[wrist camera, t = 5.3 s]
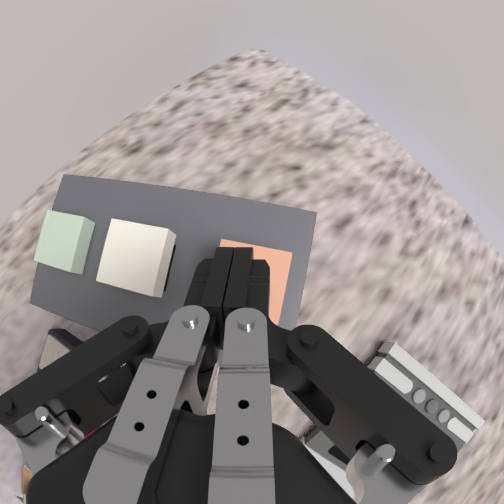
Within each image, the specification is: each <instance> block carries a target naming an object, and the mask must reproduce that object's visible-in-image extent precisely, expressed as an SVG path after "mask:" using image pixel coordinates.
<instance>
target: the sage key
mask: <svg viewBox="0 0 504 504" xmlns="http://www.w3.org/2000/svg"><path fill="white" fill-rule="evenodd" d="M94 226H95V222H93V221H91V220H89V219H88V218H86V217H82V216H77V215H72V214H67V213H61V212H56V211H51V210H47V212H46V215H45V219H44V222H43V226H42V229H41V233H40V237H39V241H38V245H37V249H36V253H35V257H34V261H37V262H40V263H43V264H46V265H49V266H52V267H56V268H59V269H62V270H65V271H68V272H72V273H76V274H81V275H82V274H83V269H84V265H85V261H86V256H87V252H88V248H89V245H90V241H91V237H92V233H93V230H94Z"/></svg>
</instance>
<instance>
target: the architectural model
mask: <svg viewBox="0 0 504 504" xmlns="http://www.w3.org/2000/svg"><path fill="white" fill-rule="evenodd" d="M32 477H33V474H32V472H31V470H30V469H29V468H27V467H26V466H25V465H24V466H23V472H22V491H21V493H22V494H23V495H24V496H23V498H21V497H18V496H16V495H15V497H16V498H18V499H19V500H20V501H21V502H22V503H23V504H26V490H27V486H28V484H29V481H30V480H31V478H32Z"/></svg>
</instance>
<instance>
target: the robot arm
mask: <svg viewBox="0 0 504 504" xmlns="http://www.w3.org/2000/svg"><path fill="white" fill-rule="evenodd" d="M269 303H270V266H269V265H268V263H267V261H266V260H265V259H254V250H253V247H217V248H216V251H215V254H214V258H204V259H203V260H202V261H201V262H200V263H199V264H198V265H197V267H196V270H195V273H194V276H193V278H192V283H191V284H190V287H189V290H188V293H187V296H186V299H185V302H184V305H183V307H182V308H179V309H178V310H176V311H175V312H174V313H173V315H172V316H171V318H170V320H169V321H166V322H162V323H156V324H151V325H148V322H147V321H146V319H144V318H143V317H141V316H137V315H131V316H127V317H124V318H122V319H120V320H119V321H117V322H115V323H114V324H112V325H111V326H109V327H107V328H106V329H104V330H103V331H101V332H99V333H98V334H96V335H95V336H93V337H92V338H90V339H88V340H87V341H85V342H84V343H82V344H80V345H79V346H77V347H76V348H74V349H73V350H71V351H69V352H68V353H66V354H65V355H63V356H62V357H60V358H58V359H57V360H55V361H54V362H52V363H51V364H49V365H47V366H46V367H44V368H43V369H41V370H40V371H38V372H37V373H35V374H33V375H32V376H30V377H29V378H27V379H26V380H24V381H23V382H21V383H20V384H18V385H16V386H15V387H13V388H12V389H10V390H9V391H7V392H6V393H4V394H3V395H1V396H0V424H2V425H3V426H4V427H5V428H6V429H7V430H9V431H10V433H11V434H12V435H13V436H14V437H15V438H16V439H17V442H18V444H19V446H20V449H21V451H22V453H23V455H24V458H25V460H26V462H27V464H28V466H29V468H30V470H31V472H32V474H33V477H32V478H31V480H30V481H29V484H28V486H27V490H26V504H408V503H409V502H410V501H411V500H412V499H413V498H414V497H415V495H416V494H417V493H418V492H419V491H420V490H421V489H422V488H423V487H425V486H427V485H428V484H430V483H432V482H433V481H435V480H436V479H438V478H439V477H441V476H443V475H444V474H446V473H447V472H449V471H450V470H451V469H452V467H453V466H454V464H455V462H456V460H457V448H456V445H455V443H454V441H453V440H452V439H451V438H450V437H449V436H448V435H447V434H446V433H444V432H443V431H442V430H441V429H440V428H438V427H437V426H436V425H435V424H434V423H432V422H431V421H430V420H429V419H428V418H426V417H425V416H424V415H423V414H422V413H421V412H419V411H418V410H417V409H416V408H415V407H413V406H412V405H411V404H410V403H409V402H408V401H406V400H405V399H404V398H403V397H402V396H400V395H399V394H398V393H397V392H396V391H395V390H393V389H392V388H391V387H390V386H389V385H388V384H386V383H385V382H384V381H383V380H382V379H380V378H379V377H378V376H377V375H376V374H375V373H373V372H372V371H371V370H370V369H369V368H368V367H366V366H365V365H364V364H363V363H362V362H361V361H359V360H358V359H357V358H356V357H355V356H354V355H352V354H351V353H350V352H349V351H348V350H347V349H345V348H344V347H343V346H342V345H341V344H340V343H339V342H337V341H336V340H335V339H334V338H333V337H332V336H330V335H329V334H328V333H327V332H326V331H325V330H323V329H322V328H320V327H318V326H314V325H301V326H298V327H296V328H294V329H293V330H292V331H291V330H287V329H284V328H281V327H279V326H277V325H276V324H274V323H273V322H272V321H271V319H270V318H269ZM219 350H223V360H222V368H220V369H219V374H218V387H217V400H216V414H212V415H207V405H208V401H209V398H210V394H211V390H212V387H213V383H214V379H215V376H216V372H217V368H218V361H217V360H218V356H219ZM125 362H126V365H125V366H123V367H122V368H120V369H119V370H117V371H116V372H114V373H113V374H111V375H110V376H108V377H107V378H105V379H104V380H102V381H101V382H99V381H100V380H101V379H102V378H103V377H105V376H106V375H108V374H109V373H111V372H112V371H114V370H115V369H117V368H118V367H119V366H121V365H122V364H124V363H125ZM270 384H273V385H276V386H279V387H282V388H284V391H285V393H286V394H287V395H288V396H289V397H290V398H291V399H292V400H293V402H294V403H295V404H296V405H297V406H298V407H299V408H300V409H301V410H302V411H303V412H304V413H305V414H306V415H307V416H308V417H309V418H310V420H311V421H312V422H313V423H314V424H315V425H316V426H317V427H318V428H319V429H320V430H321V431H322V432H323V433H324V434H325V435H326V436H327V437H328V438H329V439H330V440H331V441H332V442H333V443H334V444H335V445H336V446H337V447H338V448H339V449H340V450H341V451H342V452H343V453H344V454H345V455H346V456H347V457H348V458H349V459H350V462H349V463H348V465H347V467H346V478H347V480H348V482H349V484H350V485H351V486H352V488H353V490H354V494H355V498H354V500H353V499H352V498H351V497H350V496H349V495H348V494H347V492H346V491H345V490H344V489H343V488H342V487H341V486H340V485H339V484H338V483H337V482H336V481H335V480H334V478H333V477H332V476H331V475H330V474H329V473H328V472H327V471H326V470H325V468H324V467H323V466H322V465H321V464H320V463H319V462H318V461H317V459H316V458H315V457H314V456H313V455H312V454H311V453H310V451H309V450H308V449H307V448H306V447H305V446H304V444H303V443H302V442H301V441H300V440H299V439H298V438H297V437H296V436H295V435H294V434H292V433H291V432H290V431H288V430H287V429H285V428H283V427H281V426H279V425H277V424H274V423H272V413H271V389H270ZM117 414H118V415H117ZM116 415H117V416H116ZM114 416H115V417H114ZM107 421H108V422H107ZM104 423H105V424H104ZM103 424H104V425H103ZM101 425H102V426H101ZM100 426H101V427H100ZM98 427H100V428H98ZM97 428H98V429H97ZM95 429H97V430H96V431H94V430H95ZM93 431H94V432H93ZM91 432H93V433H91ZM90 433H91V434H90ZM88 434H90V435H89V436H87V435H88ZM85 436H87V437H86V438H85V439H84V437H85Z"/></svg>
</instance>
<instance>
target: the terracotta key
mask: <svg viewBox="0 0 504 504" xmlns="http://www.w3.org/2000/svg"><path fill="white" fill-rule="evenodd" d="M220 247H253V250H254V259H265V260H266V261H267V263H268V265H269V266H270V303H269V318H270V319H271V321H272V322H273V323H274V324H276V325H278V323H279V318H280V314H281V309H282V304H283V299H284V294H285V289H286V284H287V279H288V274H289V269H290V263H291V258H292V252H287V251H282V250H277V249H272V248H266V247H261V246H256V245H251V244H246V243H241V242H235V241H230V240H225V239H221V242H220Z"/></svg>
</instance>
